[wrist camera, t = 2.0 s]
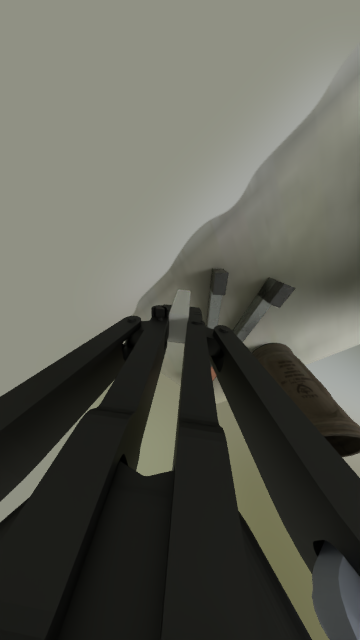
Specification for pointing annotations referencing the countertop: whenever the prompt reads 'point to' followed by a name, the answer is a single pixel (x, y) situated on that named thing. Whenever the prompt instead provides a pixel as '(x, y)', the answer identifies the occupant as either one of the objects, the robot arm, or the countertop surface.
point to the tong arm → (216, 296)
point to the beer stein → (311, 397)
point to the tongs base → (262, 306)
